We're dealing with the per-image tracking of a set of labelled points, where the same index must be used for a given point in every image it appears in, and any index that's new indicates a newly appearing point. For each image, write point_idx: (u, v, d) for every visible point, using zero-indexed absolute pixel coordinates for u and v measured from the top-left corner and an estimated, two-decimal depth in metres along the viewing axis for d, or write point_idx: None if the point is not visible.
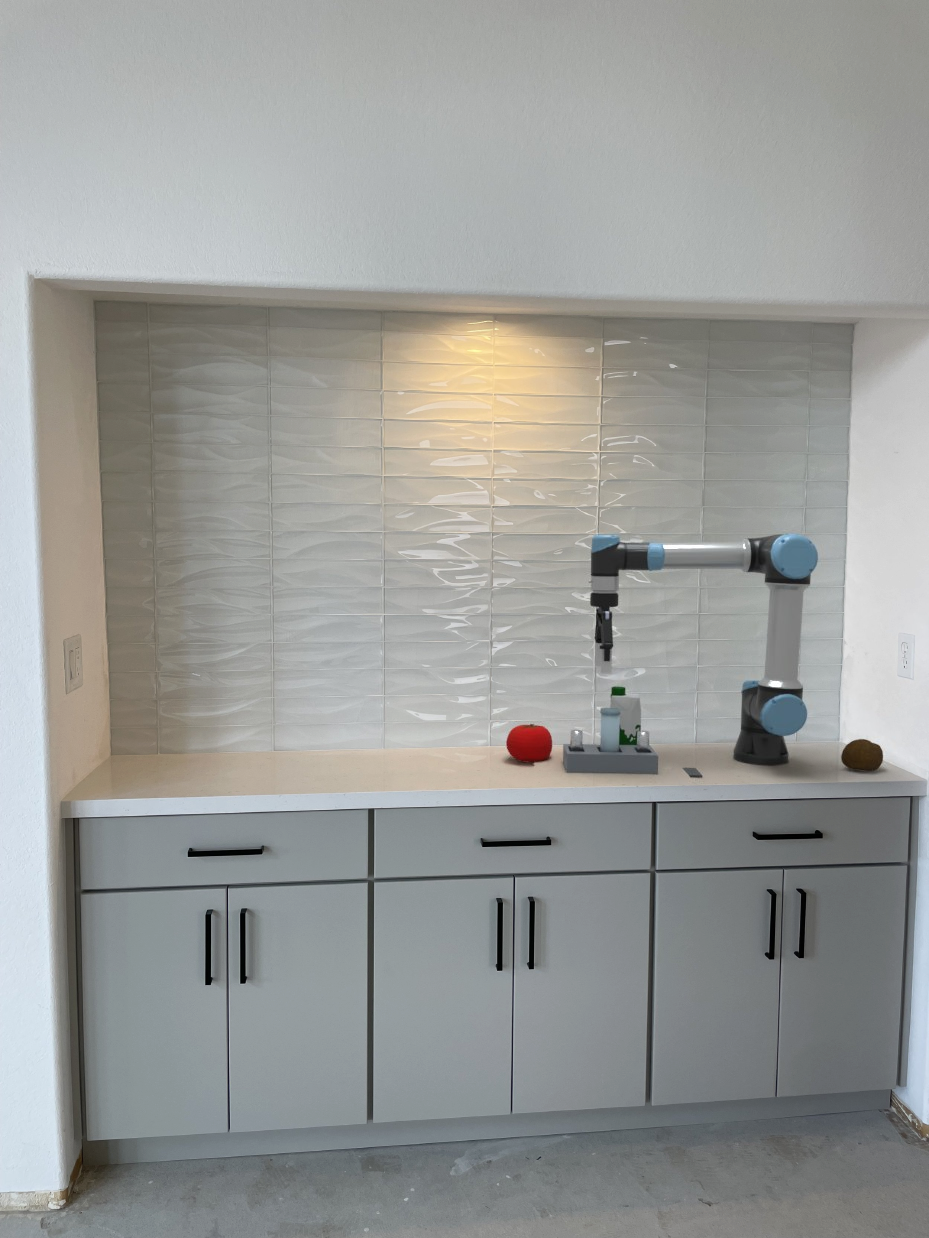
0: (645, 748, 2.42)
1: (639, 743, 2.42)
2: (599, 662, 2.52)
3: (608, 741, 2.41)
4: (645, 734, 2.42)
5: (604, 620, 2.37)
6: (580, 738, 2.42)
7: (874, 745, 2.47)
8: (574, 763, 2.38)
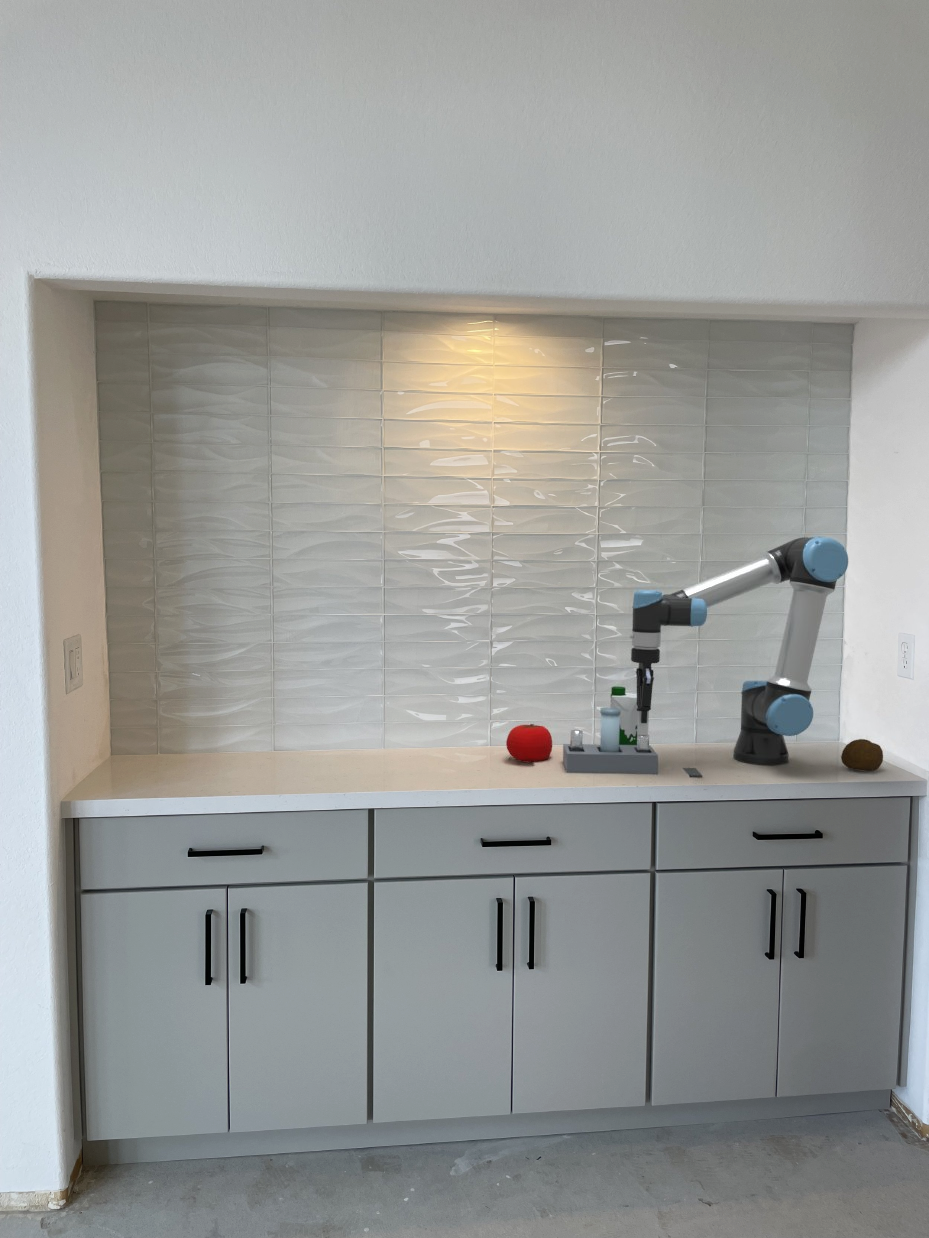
0: (645, 752, 2.42)
1: (639, 746, 2.42)
2: None
3: (608, 741, 2.41)
4: (645, 737, 2.42)
5: (645, 685, 2.37)
6: (580, 738, 2.42)
7: (874, 745, 2.47)
8: (574, 763, 2.38)
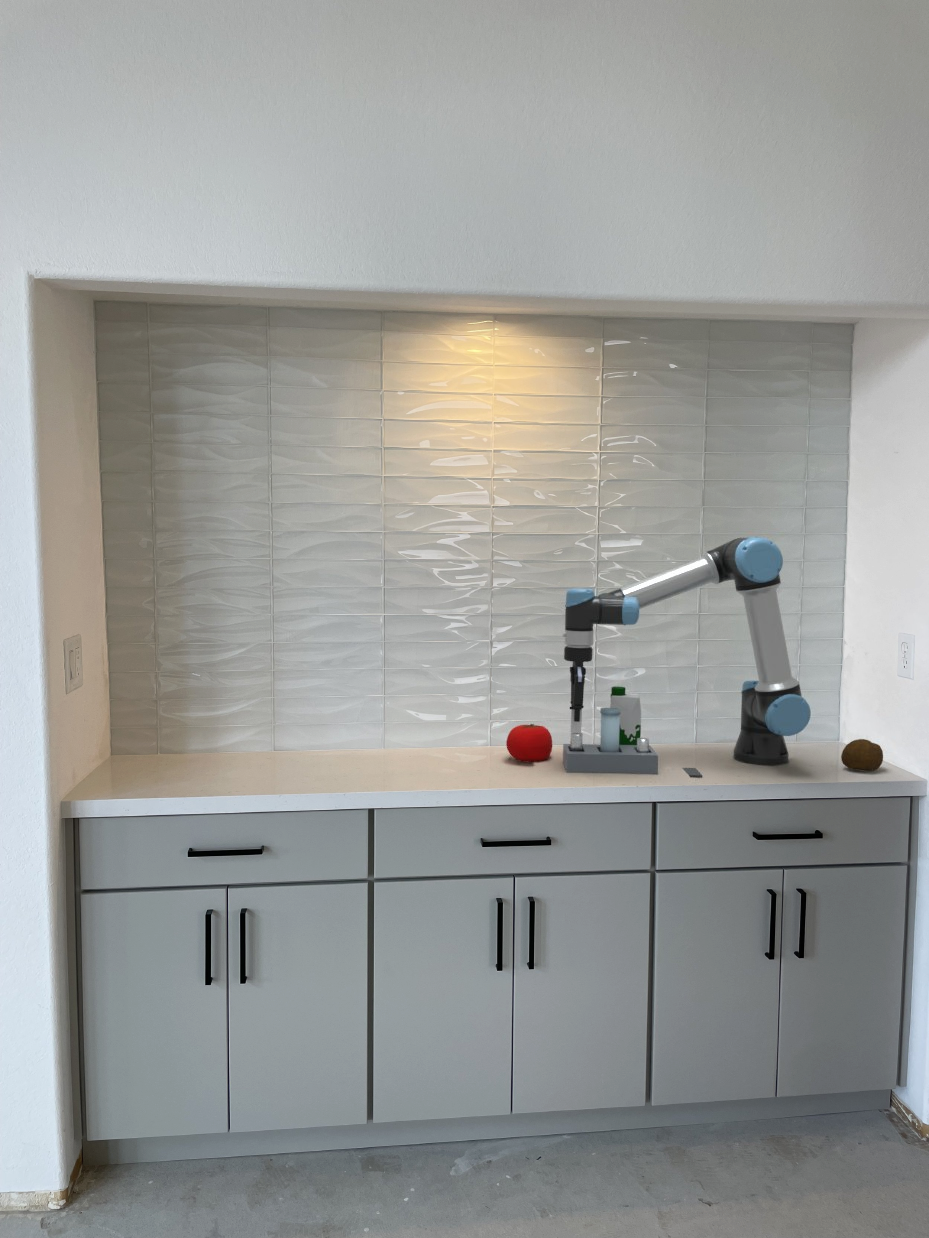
0: None
1: (639, 750, 2.42)
2: None
3: (608, 741, 2.41)
4: (645, 741, 2.42)
5: (576, 683, 2.37)
6: (580, 741, 2.42)
7: (874, 745, 2.47)
8: (574, 763, 2.38)
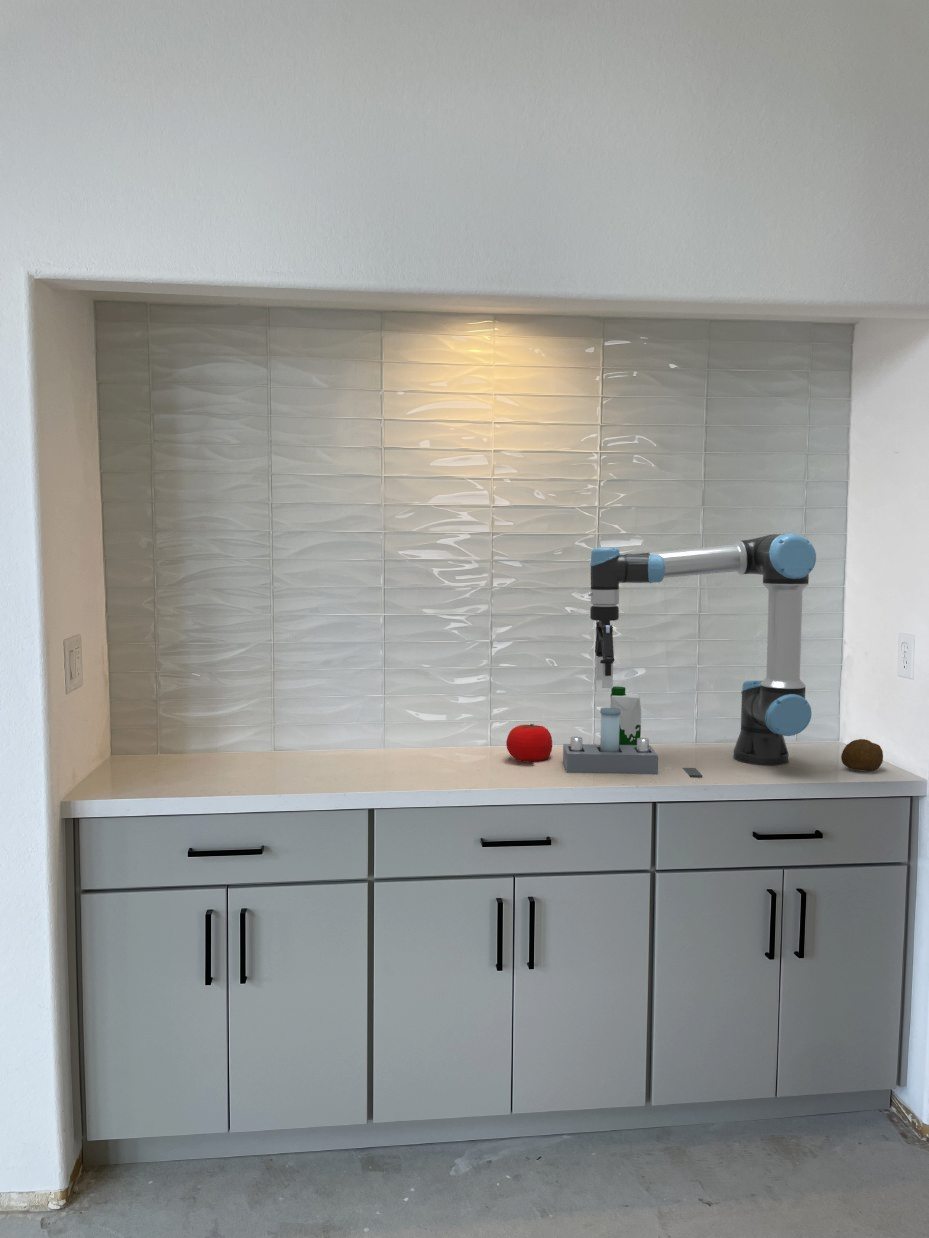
0: None
1: (639, 750, 2.42)
2: (600, 676, 2.49)
3: (608, 741, 2.41)
4: (645, 741, 2.42)
5: (605, 634, 2.34)
6: (580, 745, 2.43)
7: (874, 745, 2.47)
8: (574, 763, 2.38)
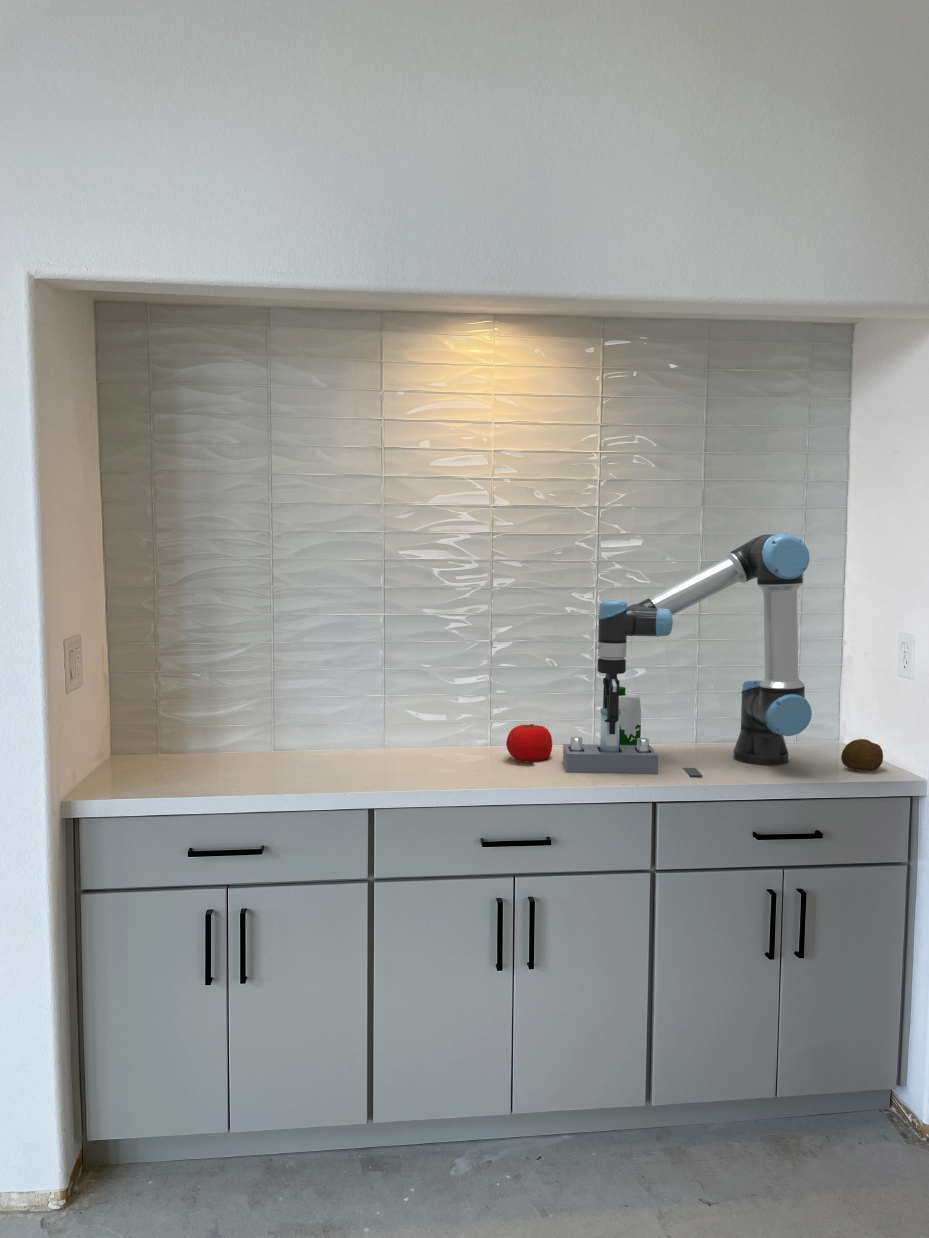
0: None
1: (639, 750, 2.42)
2: None
3: None
4: (645, 741, 2.42)
5: (611, 694, 2.36)
6: (580, 745, 2.43)
7: (874, 745, 2.47)
8: (574, 763, 2.38)
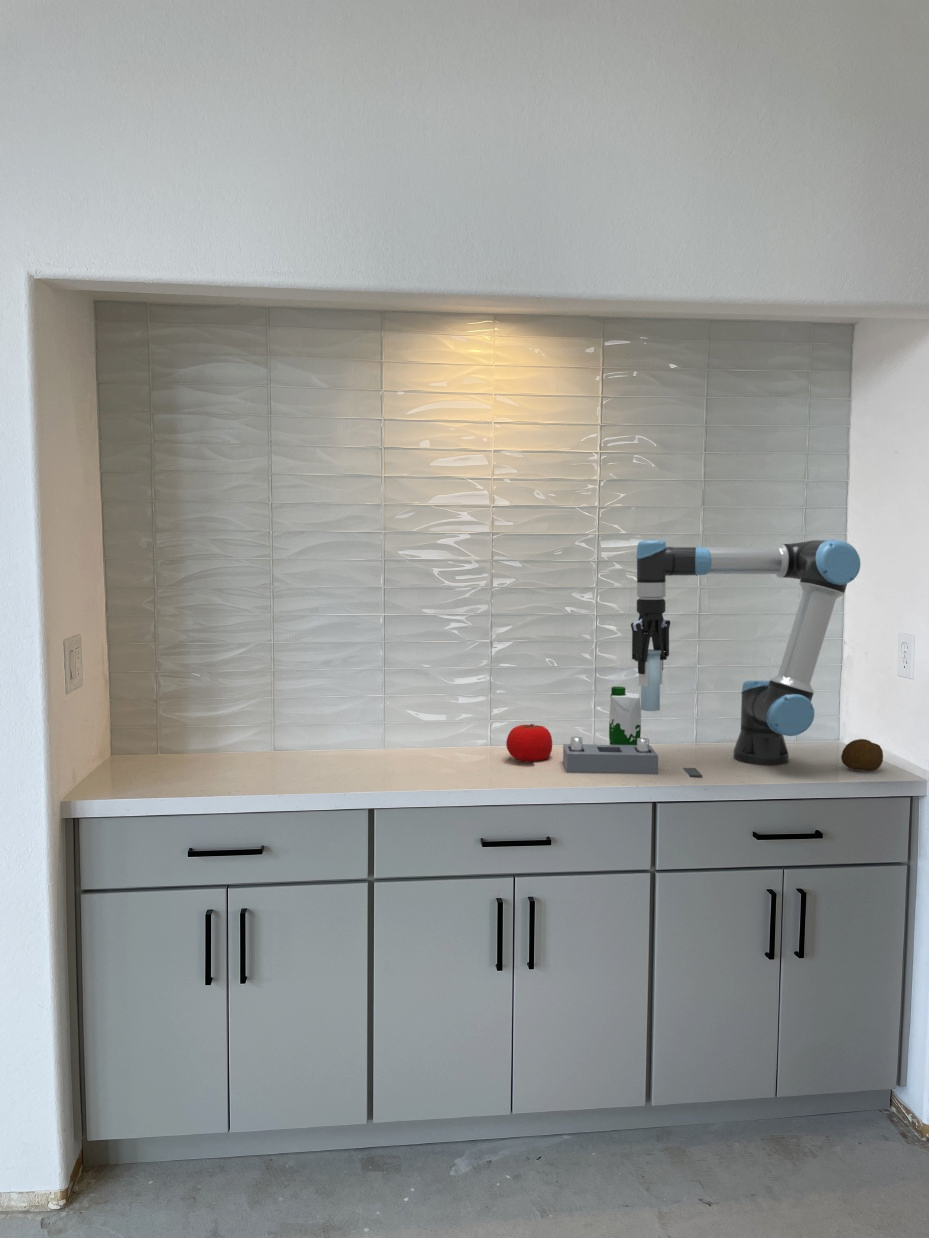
0: None
1: (639, 750, 2.42)
2: None
3: None
4: (645, 741, 2.42)
5: (633, 632, 2.37)
6: (580, 745, 2.43)
7: (874, 745, 2.47)
8: (574, 763, 2.38)
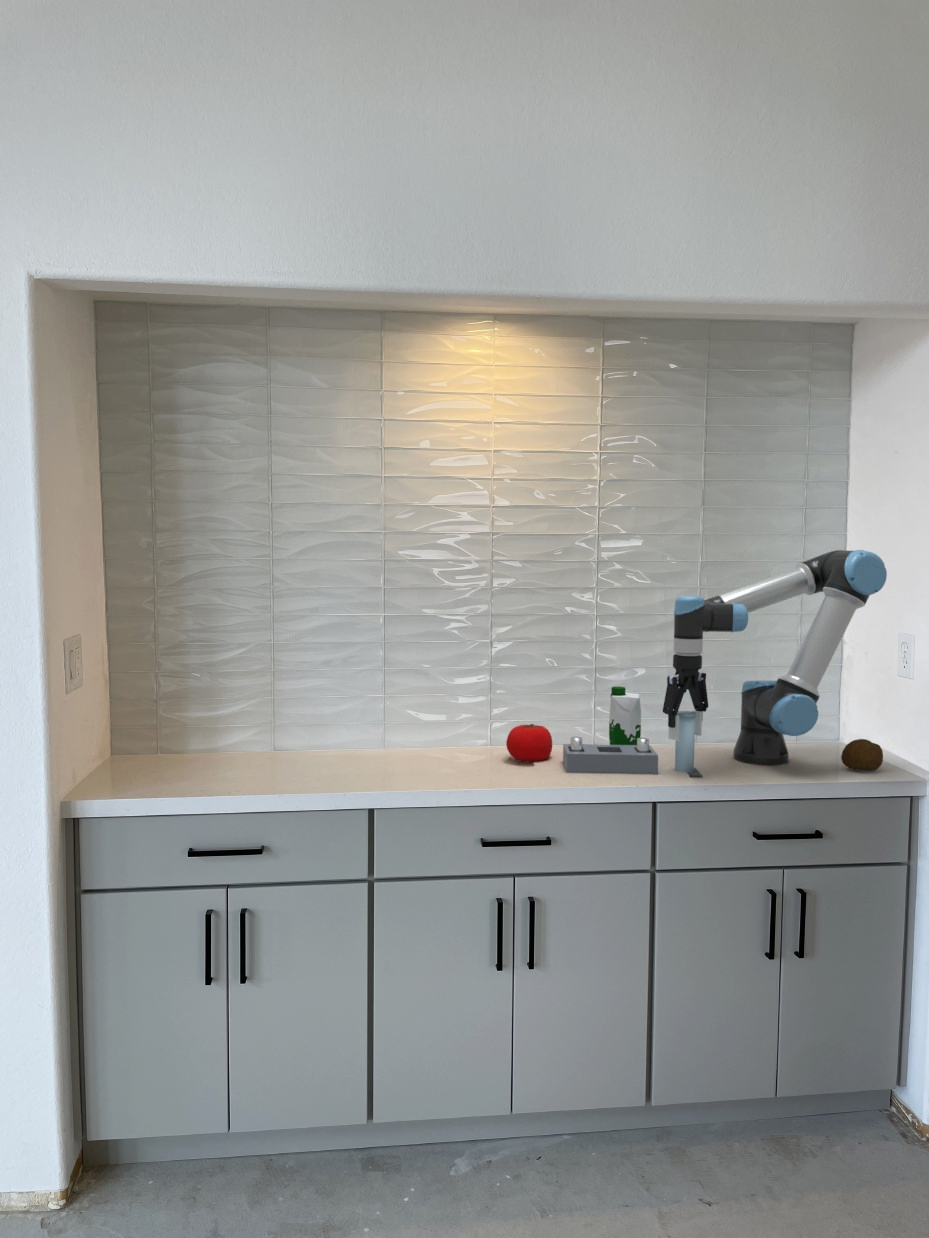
0: None
1: (639, 750, 2.42)
2: (695, 730, 2.45)
3: (677, 743, 2.41)
4: (645, 741, 2.42)
5: (668, 685, 2.37)
6: (580, 745, 2.43)
7: (874, 745, 2.47)
8: (574, 763, 2.38)
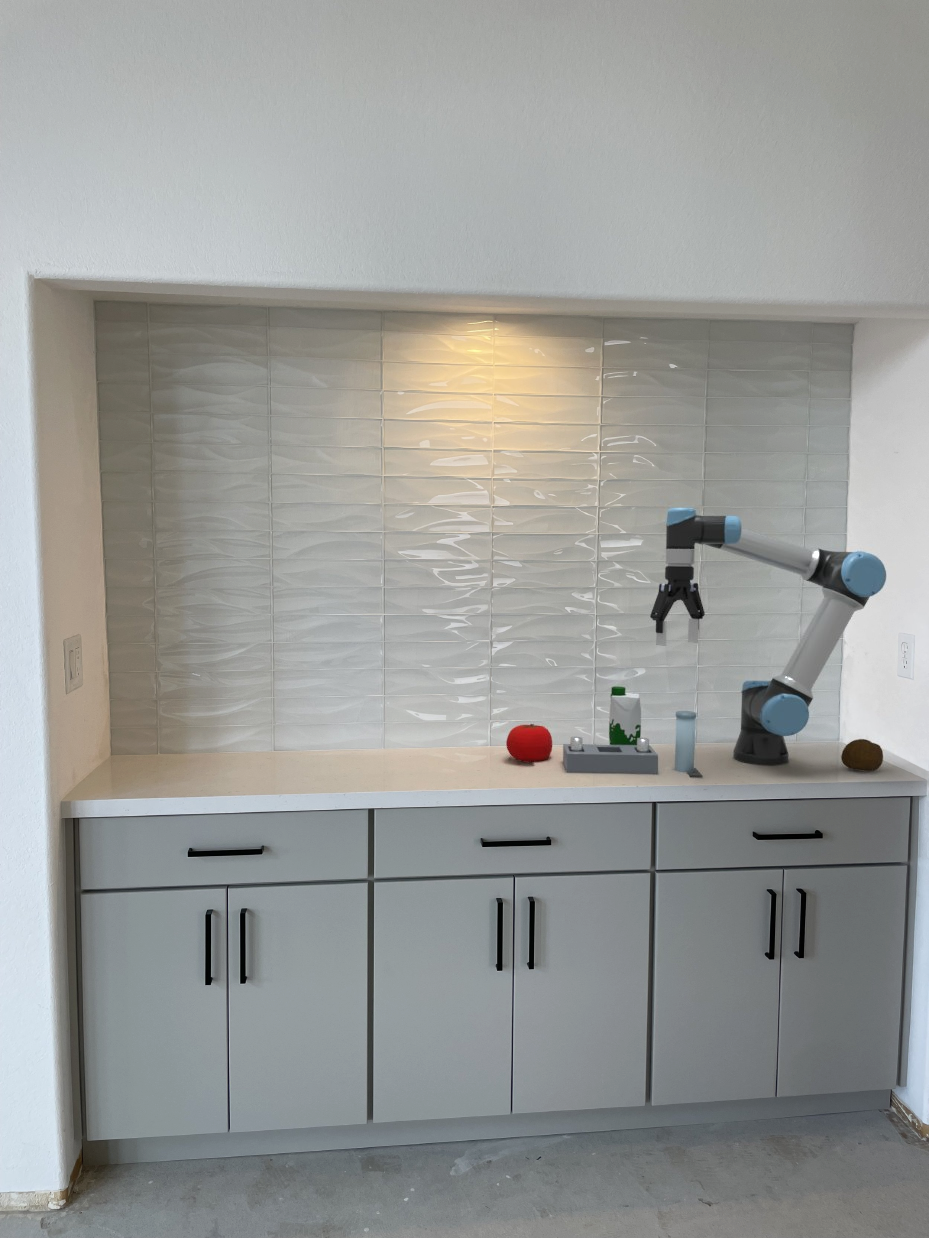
0: None
1: (639, 750, 2.42)
2: (691, 638, 2.48)
3: (677, 743, 2.41)
4: (645, 741, 2.42)
5: (659, 592, 2.39)
6: (580, 745, 2.43)
7: (874, 745, 2.47)
8: (574, 763, 2.38)
